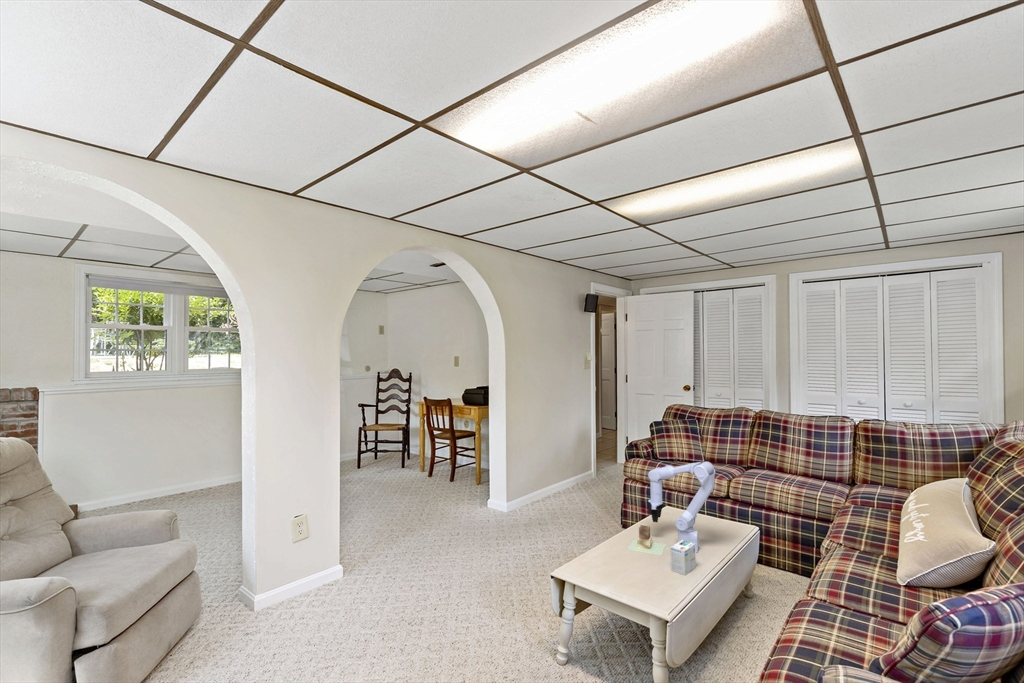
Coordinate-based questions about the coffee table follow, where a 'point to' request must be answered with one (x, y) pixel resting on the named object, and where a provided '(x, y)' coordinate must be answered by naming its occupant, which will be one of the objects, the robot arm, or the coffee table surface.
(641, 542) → the maple base brick
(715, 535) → the coffee table surface
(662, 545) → the plate
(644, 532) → the walnut brick
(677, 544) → the light bulb box
